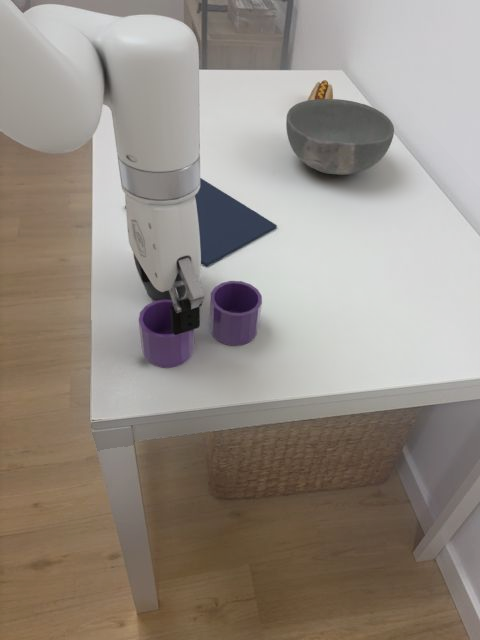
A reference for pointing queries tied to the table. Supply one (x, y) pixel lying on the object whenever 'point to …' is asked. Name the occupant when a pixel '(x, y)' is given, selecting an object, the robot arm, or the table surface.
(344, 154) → the bowl
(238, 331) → the ramekin
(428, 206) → the table surface
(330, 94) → the food
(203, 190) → the placemat
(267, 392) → the table surface
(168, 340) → the ramekin
